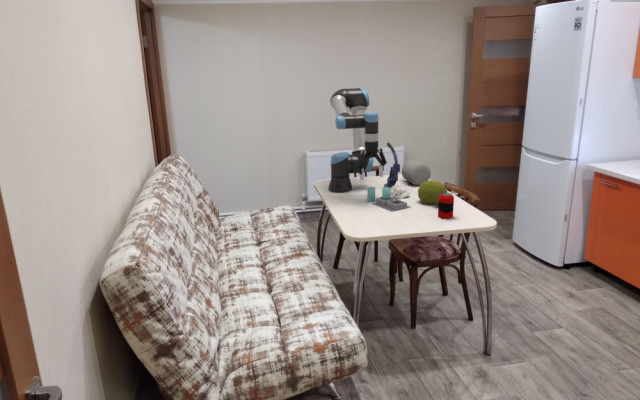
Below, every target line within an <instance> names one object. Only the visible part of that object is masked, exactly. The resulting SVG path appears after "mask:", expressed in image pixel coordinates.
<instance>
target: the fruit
mask: <svg viewBox="0 0 640 400" xmlns="http://www.w3.org/2000/svg"><path fill="white" fill-rule="evenodd" d="M441 193H448V188H447V187H446V186H445V185H444V184H443V183H442V182H441V181H436V180H432V179H429V180H428V181H426V182H423V183H422V184H421V185H420V186H418V188H417V197H418V199H419V200H420V201H421V203H422V204H426V205H434V206H438V202H439V196H440V195H441Z"/></svg>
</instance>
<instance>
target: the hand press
mask: <svg viewBox="0 0 640 400" xmlns="http://www.w3.org/2000/svg"><path fill="white" fill-rule="evenodd" d="M386 146H387V147H388V148H389V149H390V151H391V152H392V155H393V160H394V163H393V164H392V166H390V170H389V171H390V172H389V174H388V177H387V179H386V181H387V182H386V183H385V184H383V187H389V188H391V187H392V186H394V185H395V184H396V183H397V182H398V181H399V173H400V172H401V163H399V161H398V156H397V152H396V150H395V148H394V146H392V144H391V143H390V142H386Z"/></svg>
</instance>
